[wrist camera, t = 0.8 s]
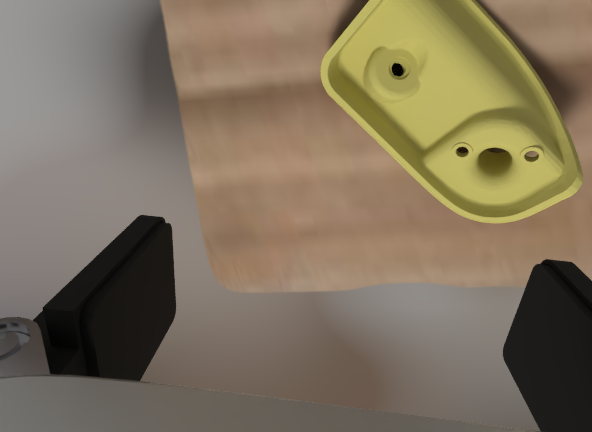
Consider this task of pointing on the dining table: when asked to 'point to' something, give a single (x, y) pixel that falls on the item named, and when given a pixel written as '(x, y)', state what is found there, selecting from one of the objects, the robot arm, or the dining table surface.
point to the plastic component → (454, 106)
